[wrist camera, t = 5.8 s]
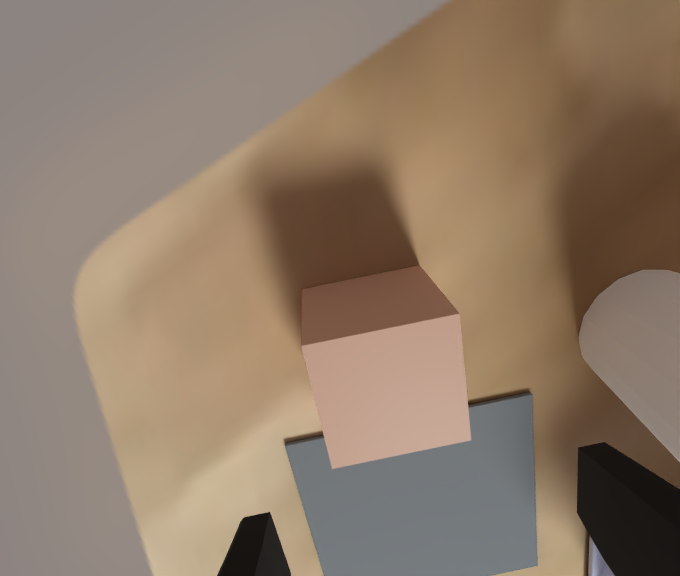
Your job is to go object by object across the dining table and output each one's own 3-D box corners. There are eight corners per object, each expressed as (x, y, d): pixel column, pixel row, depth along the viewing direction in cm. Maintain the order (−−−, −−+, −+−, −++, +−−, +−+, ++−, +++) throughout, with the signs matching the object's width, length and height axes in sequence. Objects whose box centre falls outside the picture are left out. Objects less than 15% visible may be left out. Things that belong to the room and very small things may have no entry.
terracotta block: (419, 264, 18) (459, 313, 13) (431, 365, 20) (471, 440, 15) (301, 288, 18) (301, 346, 13) (325, 387, 20) (332, 469, 15)
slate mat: (530, 392, 20) (532, 394, 20) (535, 562, 25) (537, 565, 25) (285, 443, 20) (285, 446, 20) (333, 604, 25) (333, 608, 25)
